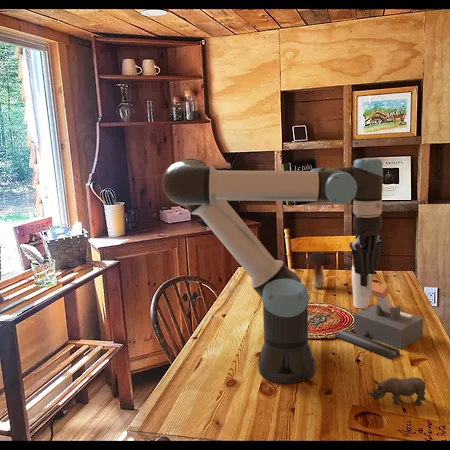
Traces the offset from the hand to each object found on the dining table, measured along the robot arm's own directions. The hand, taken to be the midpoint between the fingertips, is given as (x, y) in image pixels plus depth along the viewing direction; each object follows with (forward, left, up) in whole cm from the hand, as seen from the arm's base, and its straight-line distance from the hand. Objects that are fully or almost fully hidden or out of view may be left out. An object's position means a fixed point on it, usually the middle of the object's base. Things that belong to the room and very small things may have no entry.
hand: (366, 295), depth 127 cm
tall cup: (+25, +19, -16) cm, 35 cm away
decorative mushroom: (+30, +43, -16) cm, 55 cm away
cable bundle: (+2, 0, -16) cm, 16 cm away
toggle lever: (+12, 0, -8) cm, 14 cm away
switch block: (+12, 0, -16) cm, 19 cm away
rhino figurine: (-18, -21, -16) cm, 32 cm away
